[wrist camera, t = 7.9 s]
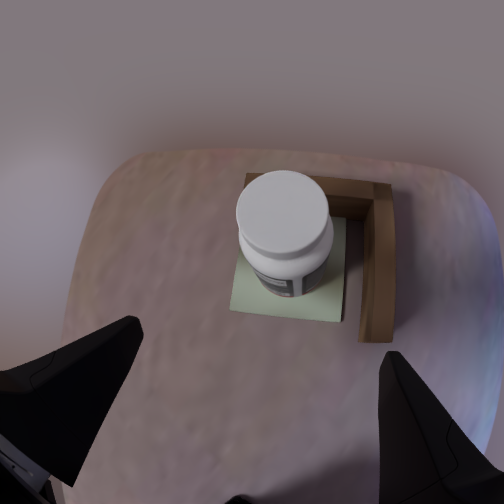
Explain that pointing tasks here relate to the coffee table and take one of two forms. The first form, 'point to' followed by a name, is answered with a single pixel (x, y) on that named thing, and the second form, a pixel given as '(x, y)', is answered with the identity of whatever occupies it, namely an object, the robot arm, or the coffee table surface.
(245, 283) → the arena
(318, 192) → the pill bottle
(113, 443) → the coffee table surface
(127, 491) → the coffee table surface
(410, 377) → the robot arm
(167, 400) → the coffee table surface
